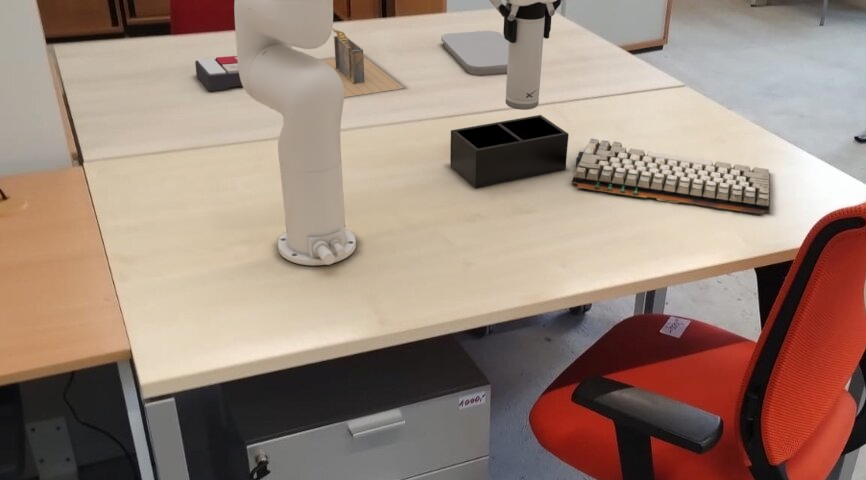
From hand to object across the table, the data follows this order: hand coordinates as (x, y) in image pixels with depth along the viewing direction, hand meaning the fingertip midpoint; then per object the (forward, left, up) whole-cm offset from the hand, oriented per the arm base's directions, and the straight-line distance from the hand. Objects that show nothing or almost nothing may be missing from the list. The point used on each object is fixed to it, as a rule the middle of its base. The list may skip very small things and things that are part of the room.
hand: (526, 37), depth 172 cm
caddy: (-1, +3, -25) cm, 25 cm away
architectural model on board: (+59, +12, -25) cm, 65 cm away
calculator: (+66, +37, -25) cm, 80 cm away
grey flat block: (+59, -24, -25) cm, 68 cm away
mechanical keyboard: (-19, -23, -25) cm, 39 cm away
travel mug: (0, 0, -13) cm, 13 cm away
